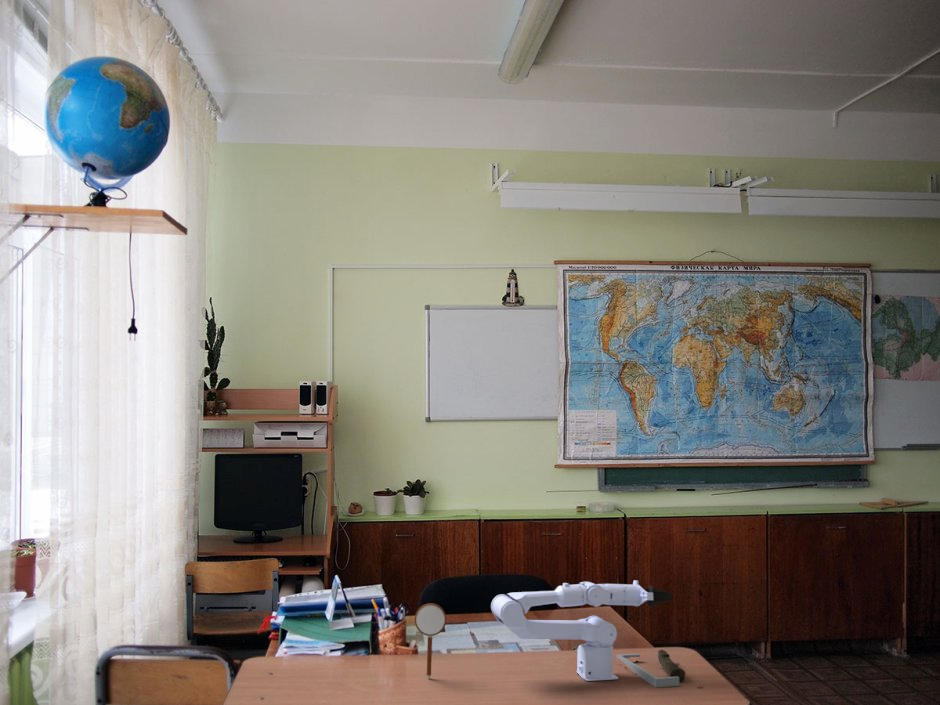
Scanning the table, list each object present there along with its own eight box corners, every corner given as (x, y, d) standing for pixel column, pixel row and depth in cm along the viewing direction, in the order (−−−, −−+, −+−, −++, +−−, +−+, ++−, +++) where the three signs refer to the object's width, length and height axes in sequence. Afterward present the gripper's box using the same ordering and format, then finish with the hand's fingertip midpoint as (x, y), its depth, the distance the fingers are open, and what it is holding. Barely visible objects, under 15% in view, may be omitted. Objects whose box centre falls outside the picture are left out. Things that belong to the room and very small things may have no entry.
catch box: (655, 687, 221) (655, 678, 221) (616, 662, 244) (616, 654, 244) (679, 685, 223) (679, 677, 223) (637, 661, 246) (638, 653, 246)
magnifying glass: (444, 678, 224) (446, 603, 226) (444, 680, 223) (446, 604, 225) (413, 677, 225) (415, 602, 226) (412, 679, 223) (414, 603, 225)
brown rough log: (685, 684, 226) (685, 666, 226) (670, 683, 226) (671, 665, 226) (669, 664, 245) (669, 648, 245) (655, 664, 245) (655, 648, 245)
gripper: (632, 580, 228) (676, 582, 231) (609, 579, 241) (651, 580, 245) (632, 607, 226) (677, 608, 230) (609, 604, 240) (651, 605, 243)
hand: (663, 595), depth 237 cm, fingers open, 7 cm apart
